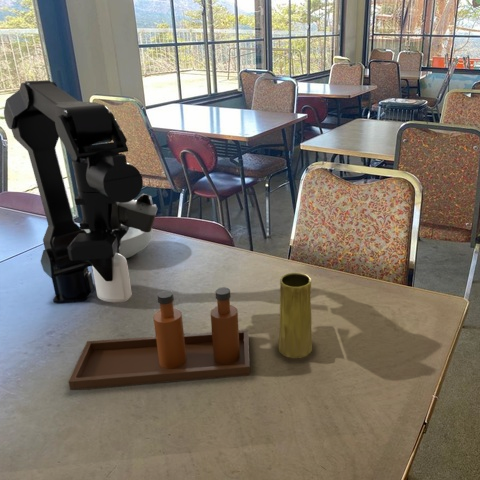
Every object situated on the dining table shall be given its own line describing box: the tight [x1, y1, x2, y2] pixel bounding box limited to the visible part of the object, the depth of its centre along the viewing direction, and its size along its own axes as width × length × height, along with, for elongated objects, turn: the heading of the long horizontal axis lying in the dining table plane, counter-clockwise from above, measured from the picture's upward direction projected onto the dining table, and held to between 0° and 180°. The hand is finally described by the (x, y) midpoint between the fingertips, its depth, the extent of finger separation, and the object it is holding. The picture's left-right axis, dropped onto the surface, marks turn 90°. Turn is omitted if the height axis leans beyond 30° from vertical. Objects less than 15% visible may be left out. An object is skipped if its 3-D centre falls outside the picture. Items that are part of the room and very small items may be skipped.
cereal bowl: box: [84, 224, 153, 259], centre depth 119 cm, size 17×17×7 cm
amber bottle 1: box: [152, 290, 186, 369], centre depth 79 cm, size 4×4×13 cm
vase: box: [278, 272, 313, 359], centre depth 83 cm, size 6×6×14 cm
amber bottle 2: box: [210, 286, 240, 364], centre depth 80 cm, size 4×4×13 cm
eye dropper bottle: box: [91, 253, 133, 303], centre depth 81 cm, size 4×6×12 cm
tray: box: [68, 329, 251, 391], centre depth 81 cm, size 28×11×2 cm, turn 99°
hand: (112, 275), depth 82 cm, fingers closed on eye dropper bottle, 4 cm apart
